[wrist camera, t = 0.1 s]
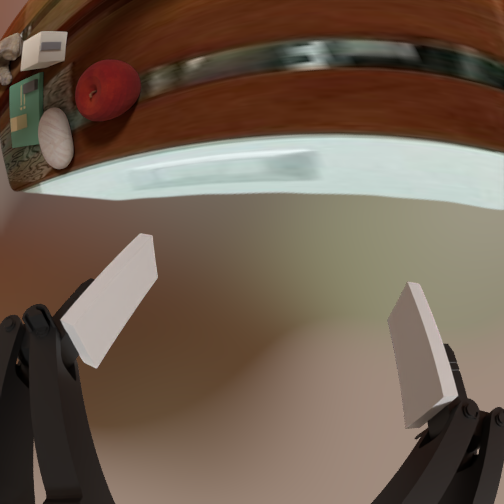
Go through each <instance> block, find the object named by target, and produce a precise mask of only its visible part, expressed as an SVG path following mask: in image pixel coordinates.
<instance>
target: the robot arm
mask: <svg viewBox="0 0 504 504" xmlns="http://www.w3.org/2000/svg"><path fill="white" fill-rule="evenodd" d="M157 278H158V276H157V269H156V261H155V254H154V245H153V236H152V235H147V234H141V233H140V234H139V235H138V236H137V237H136V238H135V239H134V240H133V241H132V242H131V243H130V244H129V245H128V246H127V247H126V248H125V249H124V250H123V251H122V252H121V253H120V254H119V255H118V256H117V257H116V258H115V259H114V260H113V261H112V262H111V263H110V264H109V265H108V266H107V267H106V268H105V269H104V270H103V272H102V273H101V274H100V275H99V276H98V277H97V278H96V279H89V280H87V281H86V282H84V283H82V284H81V285H80V286H79V288H78V289H77V290H76V291H75V293H73V294H72V295H71V296H70V298H69V299H68V300H67V301H66V302H65V303H64V304H63V305H62V307H61V308H60V309H59V310H58V311H57V312H56V314H55V315H54V316H53V317H52V316H51V314H50V312H49V310H48V309H47V307H46V306H45V305H42V304H36V305H33V306H31V307H30V308H28V309H27V310H26V311H25V313H24V314H23V318H22V319H23V321H24V323H25V324H23V323H22V321H21V319H20V318H19V317H18V316H17V315H10V316H8V317H6V318H5V319H4V320H3V321H2V323H1V324H0V504H35V495H34V480H33V443H34V442H33V441H35V448H36V453H37V458H38V463H39V467H40V472H41V476H42V480H43V484H44V487H45V491H46V500H45V501H44V502H43V504H115V502H114V500H113V498H112V496H111V493H110V491H109V489H108V486H107V483H106V480H105V477H104V475H103V472H102V469H101V466H100V463H99V460H98V457H97V454H96V450H95V447H94V443H93V439H92V436H91V432H90V428H89V424H88V420H87V415H86V411H85V406H84V401H83V395H82V390H81V383H80V377H79V370H78V364H77V361H76V358H77V357H78V355H80V357H81V359H82V360H83V362H84V363H86V364H88V365H90V366H92V367H94V368H97V367H98V366H99V364H100V362H101V361H102V359H103V358H104V356H105V355H106V353H107V352H108V350H109V348H110V347H111V345H112V344H113V342H114V341H115V339H116V338H117V336H118V334H119V333H120V331H121V330H122V328H123V327H124V325H125V324H126V322H127V321H128V320H129V318H130V316H131V315H132V314H133V312H134V311H135V309H136V308H137V306H138V305H139V303H140V302H141V300H142V299H143V298H144V296H145V295H146V293H147V292H148V291H149V289H150V288H151V286H152V285H153V284H154V282H155V281H156V279H157ZM388 325H389V329H390V333H391V338H392V343H393V348H394V353H395V358H396V364H397V369H398V375H399V381H400V387H401V395H402V402H403V410H404V419H405V428H406V429H409V428H420V427H421V426H422V425H424V424H425V423H426V422H428V428H427V429H426V430H424V431H423V432H422V433H420V434H419V435H417V436H416V438H415V439H418V438H419V437H421V438H420V439H419V441H418V442H417V444H416V446H415V447H414V449H413V450H412V452H411V453H410V455H409V456H408V458H407V459H406V460H405V462H404V463H403V465H402V466H401V467H400V469H399V471H397V473H396V474H395V475H394V477H393V478H392V479H391V481H390V482H389V483H388V484H387V486H386V487H385V488H384V489H383V490H382V492H381V493H380V494H379V495H378V496H377V497H376V499H375V500H374V501H373V502H372V503H371V504H494V501H495V497H496V494H497V490H498V486H499V481H500V478H501V472H502V468H503V463H504V409H502V408H501V407H497V408H495V409H494V410H492V411H491V412H490V413H488V412H484V411H480V410H479V408H478V406H477V404H476V403H475V402H474V401H473V400H471V399H468V398H467V395H466V391H465V388H464V384H463V380H462V377H461V374H460V371H459V367H458V364H457V361H456V358H455V355H454V352H453V351H452V349H451V348H450V346H449V345H448V344H443V342H442V339H441V336H440V333H439V331H438V328H437V325H436V323H435V320H434V317H433V315H432V312H431V310H430V307H429V305H428V302H427V300H426V298H425V296H424V293H423V291H422V288H421V286H420V284H419V283H413V282H407V283H406V286H405V288H404V290H403V292H402V294H401V296H400V297H399V299H398V301H397V303H396V305H395V307H394V309H393V311H392V313H391V314H390V316H389V318H388ZM17 358H18V359H19V362H18V364H16V361H17ZM479 448H480V449H479ZM477 449H479V454H478V455H477Z"/></svg>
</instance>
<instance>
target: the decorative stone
mask: <svg viewBox="0 0 504 504" xmlns="http://www.w3.org/2000/svg"><path fill="white" fill-rule="evenodd" d="M38 138H39V144H40V148H41V151H42V154H43V156H44V158H45V160H46V161H47V162H48V164H49V165H50V166H52V167H53V168H56V169H63V168H65V167H67V166H68V165H69V163H70V162H71V160H72V158H73V153H74V146H73V139H72V134H71V130H70V125H69V122H68V119H67V117H66V115H65V113H64V112H63V111H62V110H61V109H59V108H56V107H53V108H50V109H48V110H46V111H45V112H44V114H43V115H42V117H41V119H40V122H39V126H38Z"/></svg>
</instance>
